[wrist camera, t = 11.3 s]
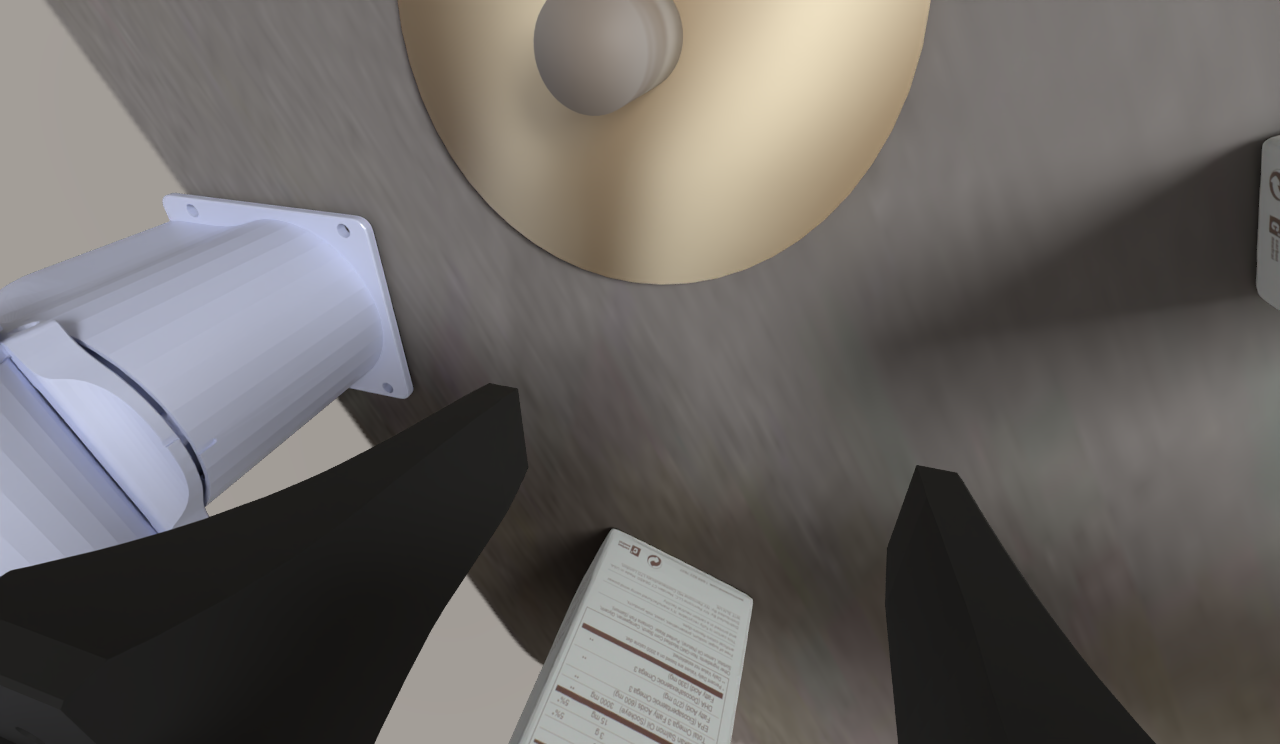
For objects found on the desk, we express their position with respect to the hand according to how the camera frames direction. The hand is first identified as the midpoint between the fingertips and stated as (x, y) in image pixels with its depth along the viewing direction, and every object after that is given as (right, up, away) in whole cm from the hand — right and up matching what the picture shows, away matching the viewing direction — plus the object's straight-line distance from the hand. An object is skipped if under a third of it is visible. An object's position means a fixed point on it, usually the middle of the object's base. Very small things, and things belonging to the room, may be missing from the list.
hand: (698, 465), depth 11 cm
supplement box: (0, -9, +18) cm, 21 cm away
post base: (-1, +11, +5) cm, 12 cm away
